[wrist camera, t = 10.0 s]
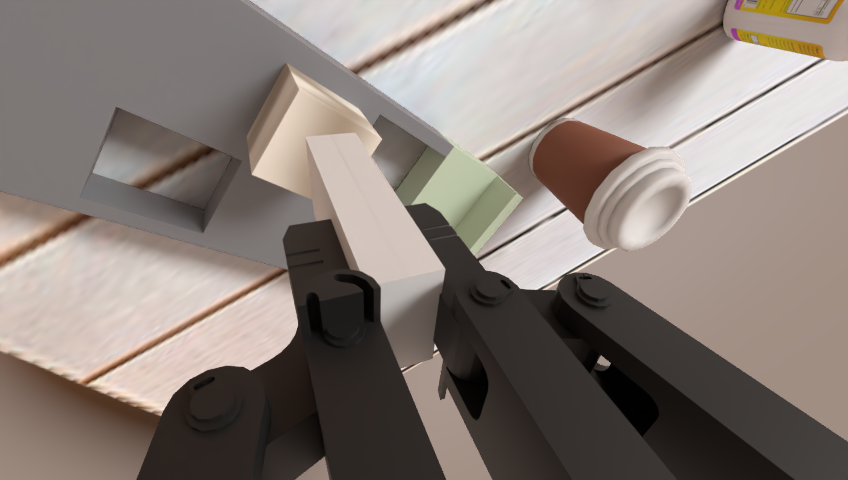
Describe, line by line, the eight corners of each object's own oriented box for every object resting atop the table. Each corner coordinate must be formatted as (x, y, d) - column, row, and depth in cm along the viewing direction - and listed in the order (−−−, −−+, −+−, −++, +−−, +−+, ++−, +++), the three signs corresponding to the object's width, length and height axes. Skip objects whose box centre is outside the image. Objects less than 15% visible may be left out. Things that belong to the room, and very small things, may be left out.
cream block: (246, 136, 23) (251, 174, 20) (286, 62, 22) (299, 89, 18) (319, 170, 27) (335, 209, 23) (358, 108, 25) (382, 139, 21)
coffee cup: (507, 136, 35) (602, 206, 26) (592, 84, 35) (714, 136, 26) (525, 205, 41) (607, 279, 33) (597, 160, 41) (697, 222, 33)
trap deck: (-71, 137, 20) (-149, 194, 16) (3, -171, 16) (-78, -207, 11) (395, 282, 40) (416, 324, 36) (487, 165, 36) (523, 198, 32)
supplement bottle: (766, 20, 39) (938, 50, 29) (712, 50, 38) (869, 89, 29) (790, -60, 34) (1002, -54, 25) (728, -27, 34) (921, -9, 24)
